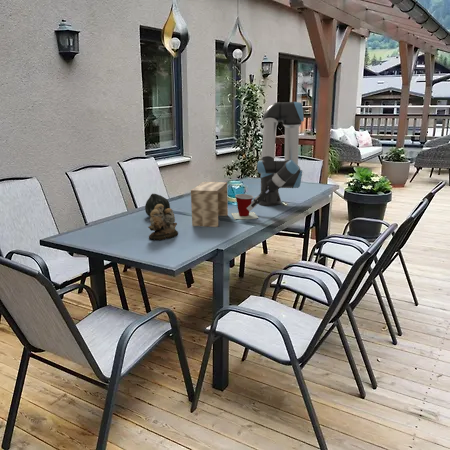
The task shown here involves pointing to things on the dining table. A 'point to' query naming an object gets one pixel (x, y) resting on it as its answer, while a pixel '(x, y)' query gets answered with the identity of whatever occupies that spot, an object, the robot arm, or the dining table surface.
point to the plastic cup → (243, 203)
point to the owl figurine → (162, 223)
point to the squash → (155, 203)
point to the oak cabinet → (209, 203)
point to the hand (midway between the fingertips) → (250, 207)
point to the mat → (251, 216)
